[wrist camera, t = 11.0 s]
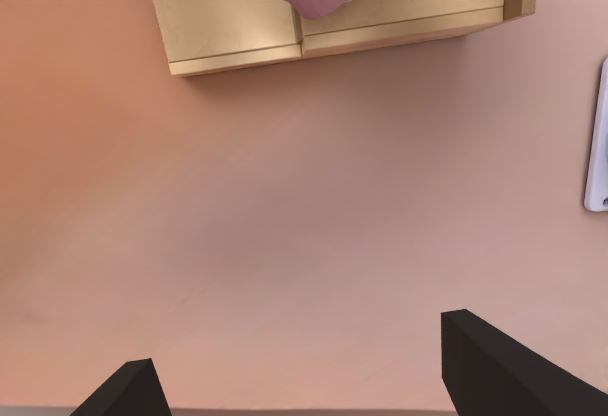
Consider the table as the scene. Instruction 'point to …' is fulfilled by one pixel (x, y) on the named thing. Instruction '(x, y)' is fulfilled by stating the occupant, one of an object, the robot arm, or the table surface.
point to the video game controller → (315, 7)
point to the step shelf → (311, 29)
